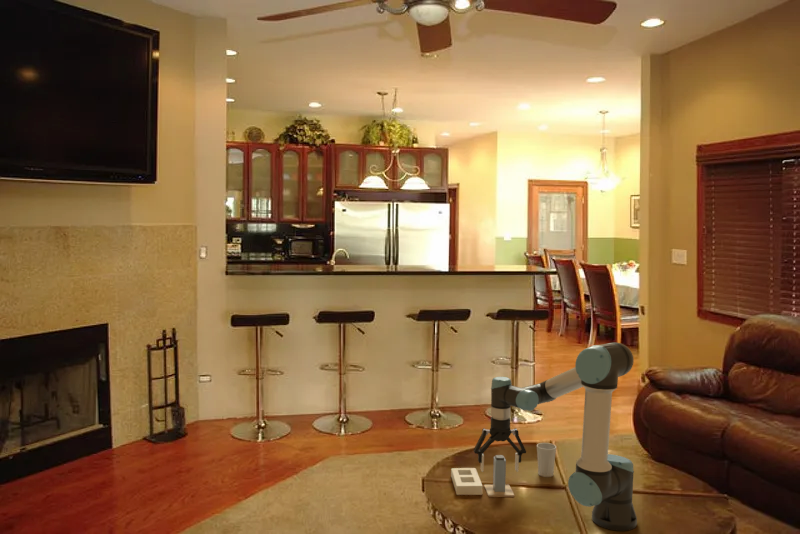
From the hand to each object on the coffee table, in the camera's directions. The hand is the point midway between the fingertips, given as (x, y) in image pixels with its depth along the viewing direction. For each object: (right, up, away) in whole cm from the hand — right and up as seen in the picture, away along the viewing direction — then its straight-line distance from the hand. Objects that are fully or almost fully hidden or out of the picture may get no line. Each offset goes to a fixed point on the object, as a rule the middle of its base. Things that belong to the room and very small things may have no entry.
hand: (499, 470), depth 254 cm
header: (-12, -8, +6) cm, 16 cm away
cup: (+22, -7, +18) cm, 30 cm away
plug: (0, -8, +1) cm, 8 cm away
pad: (0, -8, +1) cm, 8 cm away
